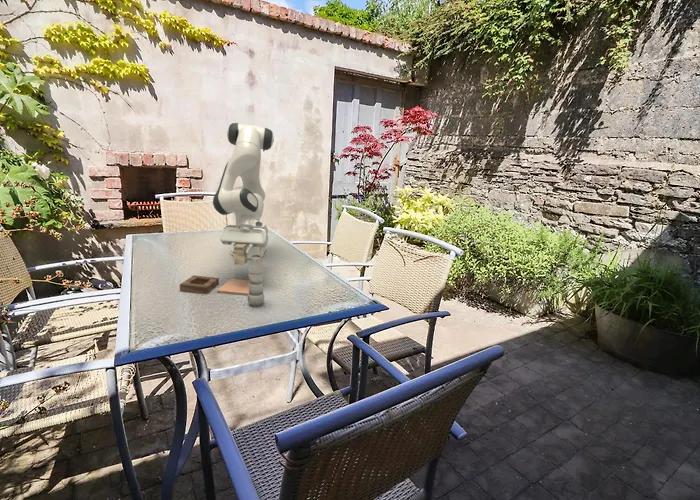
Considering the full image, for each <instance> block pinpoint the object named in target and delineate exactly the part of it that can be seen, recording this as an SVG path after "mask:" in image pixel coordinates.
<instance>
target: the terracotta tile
mask: <svg viewBox="0 0 700 500" xmlns="http://www.w3.org/2000/svg"><path fill="white" fill-rule="evenodd" d="M216 292H217V293H220V294H227V295H228V294H229V295H237V296H247V297H248V293H249V280H246V279H244V280H243V279H236V278H230V279H229V280H228V281H226V282H225V283H224V284H222V285H221V286H220V287H219V288H218V289H217V290H216Z"/></svg>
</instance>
